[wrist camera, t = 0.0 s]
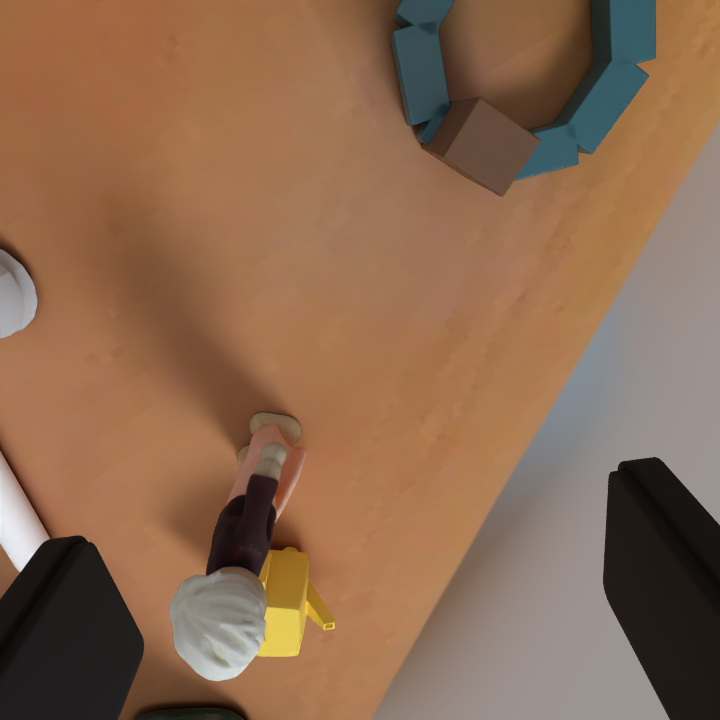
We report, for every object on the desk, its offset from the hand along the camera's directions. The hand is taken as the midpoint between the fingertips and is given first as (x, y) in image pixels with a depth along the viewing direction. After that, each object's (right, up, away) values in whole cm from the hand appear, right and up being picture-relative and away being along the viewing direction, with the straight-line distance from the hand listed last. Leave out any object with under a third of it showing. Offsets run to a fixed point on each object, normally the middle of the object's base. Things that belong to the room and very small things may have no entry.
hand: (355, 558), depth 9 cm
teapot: (-5, -9, +22) cm, 24 cm away
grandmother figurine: (-5, -1, +18) cm, 19 cm away
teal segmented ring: (+6, +16, +11) cm, 20 cm away
